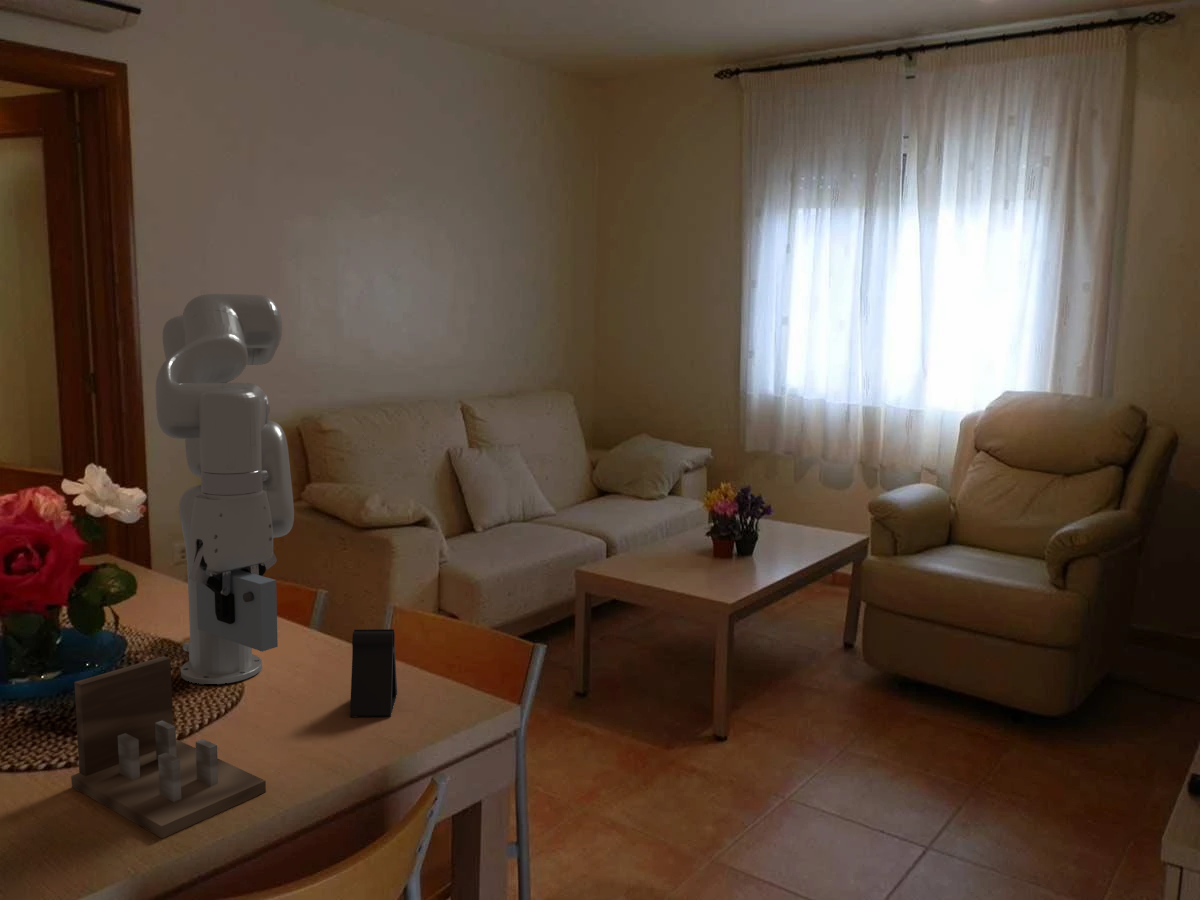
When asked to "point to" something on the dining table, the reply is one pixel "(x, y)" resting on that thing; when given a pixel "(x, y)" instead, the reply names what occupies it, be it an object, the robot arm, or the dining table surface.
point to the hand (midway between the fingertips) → (235, 617)
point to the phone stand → (373, 673)
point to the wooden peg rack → (149, 753)
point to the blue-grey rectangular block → (243, 611)
